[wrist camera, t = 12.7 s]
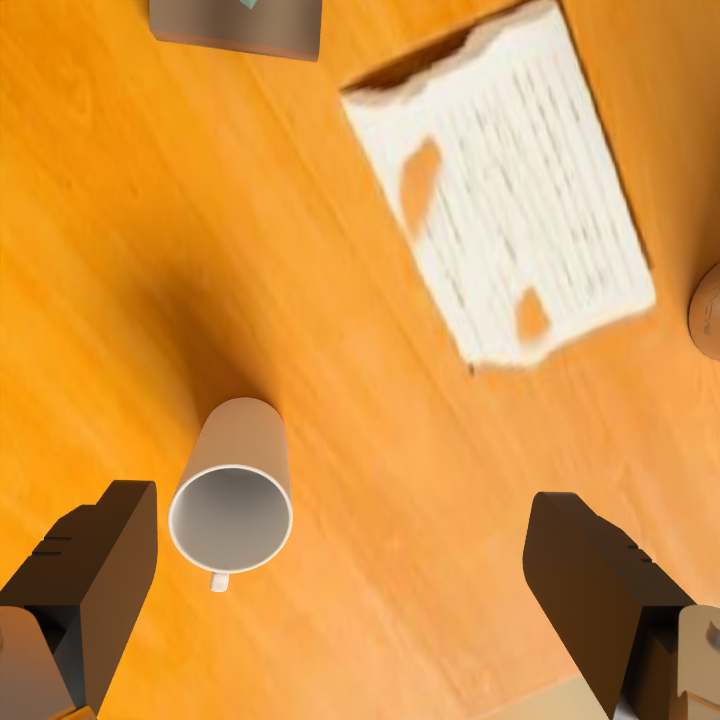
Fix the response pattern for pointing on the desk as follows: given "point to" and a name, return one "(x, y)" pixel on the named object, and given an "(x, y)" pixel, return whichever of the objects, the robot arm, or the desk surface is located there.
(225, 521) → the mug
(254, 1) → the pillar
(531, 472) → the desk surface
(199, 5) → the base
